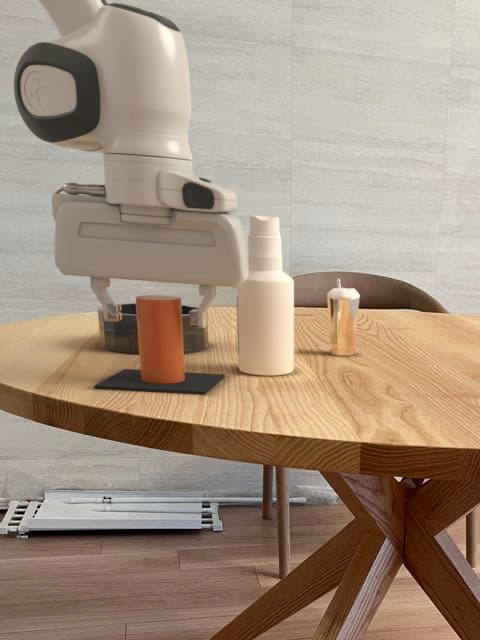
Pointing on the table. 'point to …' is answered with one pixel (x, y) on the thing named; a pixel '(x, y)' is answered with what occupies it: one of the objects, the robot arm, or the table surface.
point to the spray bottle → (265, 305)
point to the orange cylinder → (160, 338)
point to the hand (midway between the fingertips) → (155, 324)
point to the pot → (126, 331)
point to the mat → (132, 381)
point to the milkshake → (342, 319)
